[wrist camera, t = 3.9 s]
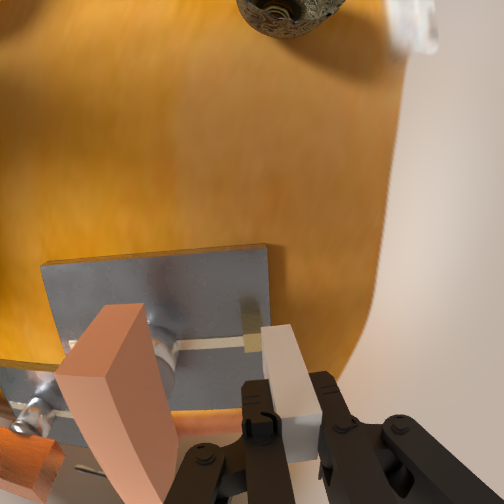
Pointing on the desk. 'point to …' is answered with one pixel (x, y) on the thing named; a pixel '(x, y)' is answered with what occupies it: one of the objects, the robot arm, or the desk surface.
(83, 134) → the desk surface
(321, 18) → the cup
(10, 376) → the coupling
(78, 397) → the salmon orange brick
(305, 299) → the desk surface
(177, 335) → the base
